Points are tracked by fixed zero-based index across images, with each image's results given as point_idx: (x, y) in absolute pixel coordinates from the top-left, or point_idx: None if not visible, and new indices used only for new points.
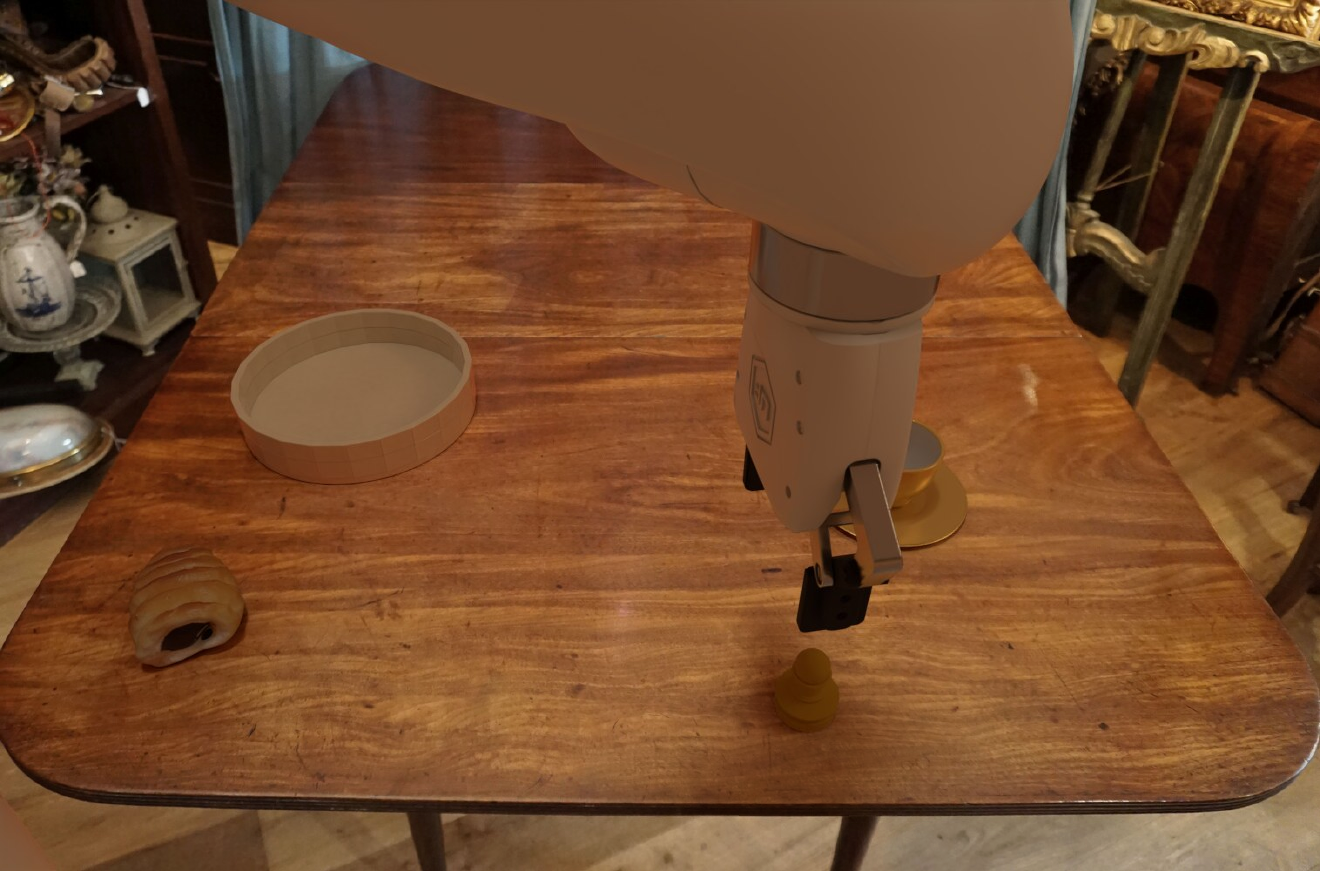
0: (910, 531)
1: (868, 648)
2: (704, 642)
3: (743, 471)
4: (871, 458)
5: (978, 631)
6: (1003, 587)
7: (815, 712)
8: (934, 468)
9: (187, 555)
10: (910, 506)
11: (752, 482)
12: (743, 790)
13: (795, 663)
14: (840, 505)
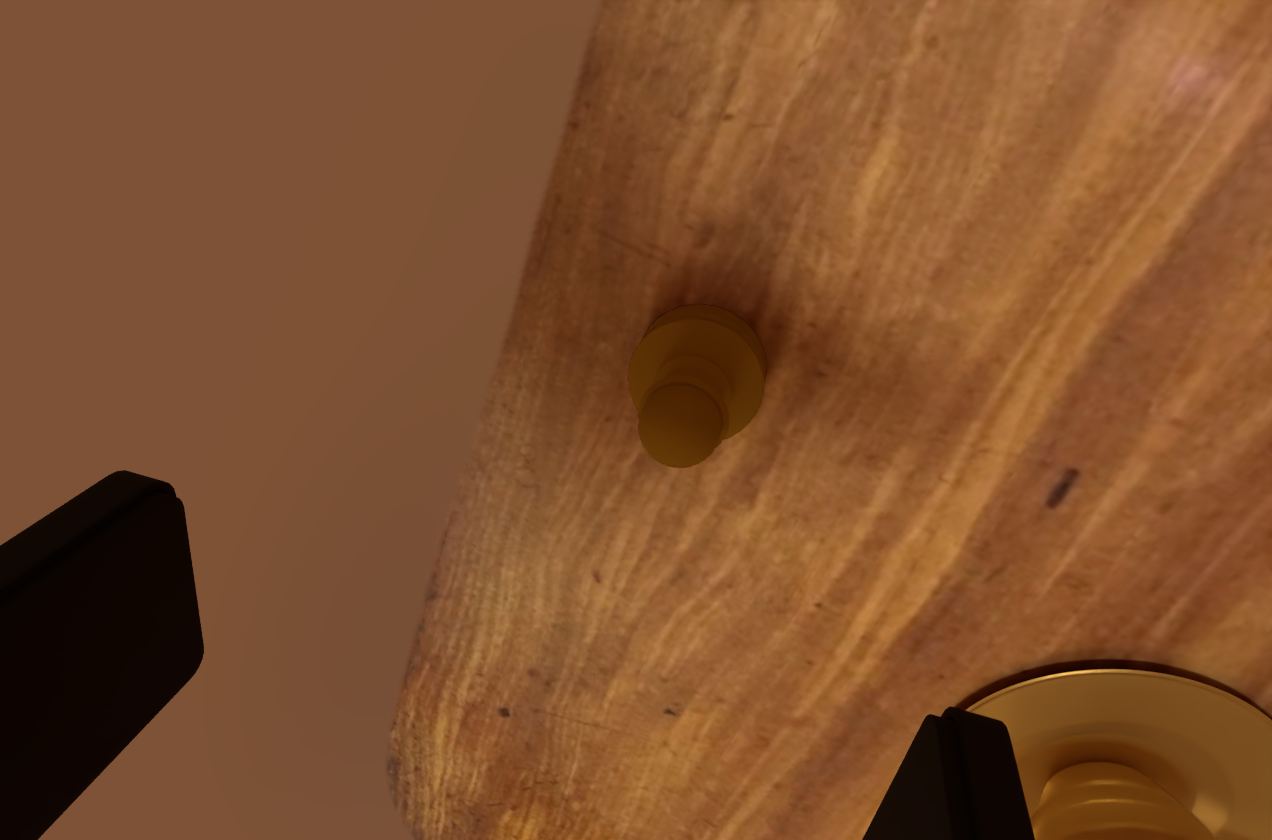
0: None
1: (766, 536)
2: (956, 246)
3: (1019, 788)
4: None
5: (716, 697)
6: (778, 780)
7: (641, 372)
8: None
9: None
10: (1035, 796)
11: (932, 768)
12: (570, 154)
13: (693, 398)
14: (1129, 708)
